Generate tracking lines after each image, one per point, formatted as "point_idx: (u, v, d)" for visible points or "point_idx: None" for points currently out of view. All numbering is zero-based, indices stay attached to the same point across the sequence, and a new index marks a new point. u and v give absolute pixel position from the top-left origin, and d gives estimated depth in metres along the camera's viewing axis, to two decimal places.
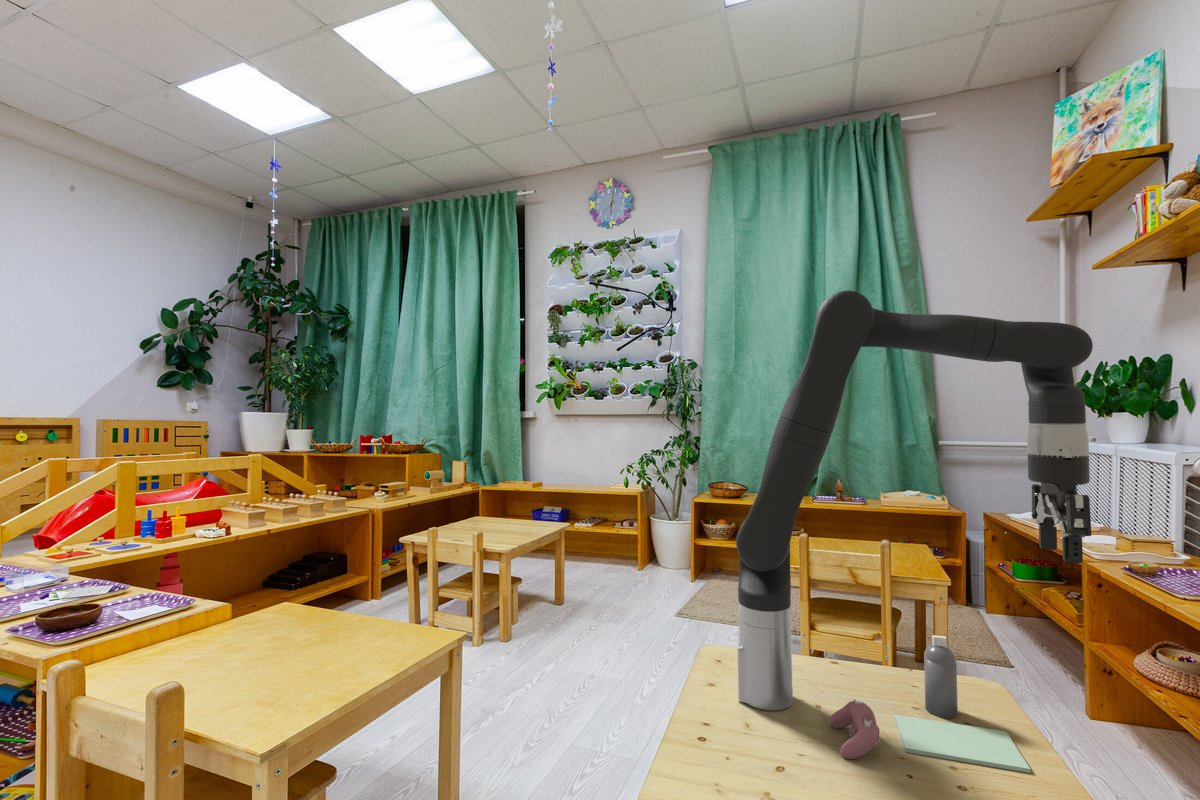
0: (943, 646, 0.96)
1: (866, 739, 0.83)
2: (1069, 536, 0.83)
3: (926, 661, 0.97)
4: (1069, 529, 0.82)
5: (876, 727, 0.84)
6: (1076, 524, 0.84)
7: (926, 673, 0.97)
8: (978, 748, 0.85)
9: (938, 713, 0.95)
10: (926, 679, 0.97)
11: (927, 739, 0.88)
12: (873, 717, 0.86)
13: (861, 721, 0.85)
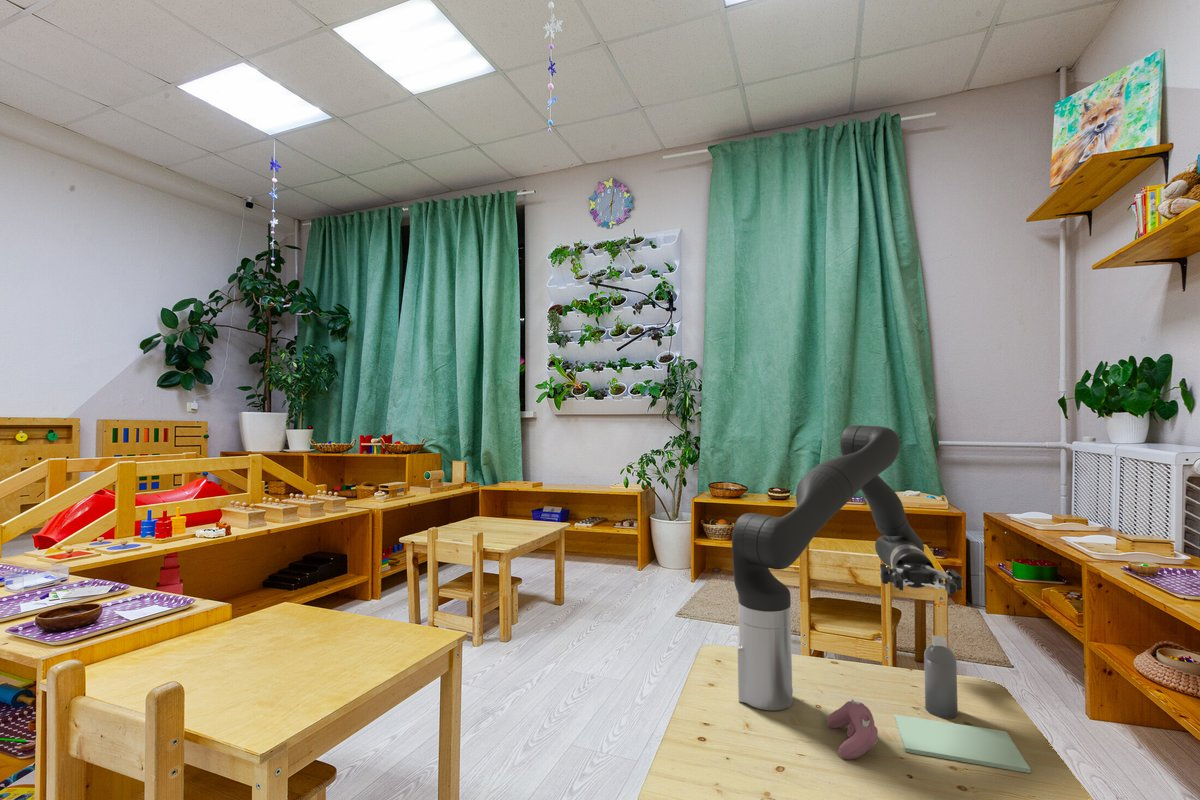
0: (943, 646, 0.96)
1: (864, 739, 0.83)
2: (952, 580, 1.09)
3: (926, 661, 0.97)
4: (959, 576, 1.10)
5: (874, 727, 0.84)
6: (942, 584, 1.11)
7: (926, 673, 0.97)
8: (978, 748, 0.85)
9: (938, 713, 0.95)
10: (926, 679, 0.97)
11: (927, 739, 0.88)
12: (871, 717, 0.86)
13: (859, 721, 0.85)
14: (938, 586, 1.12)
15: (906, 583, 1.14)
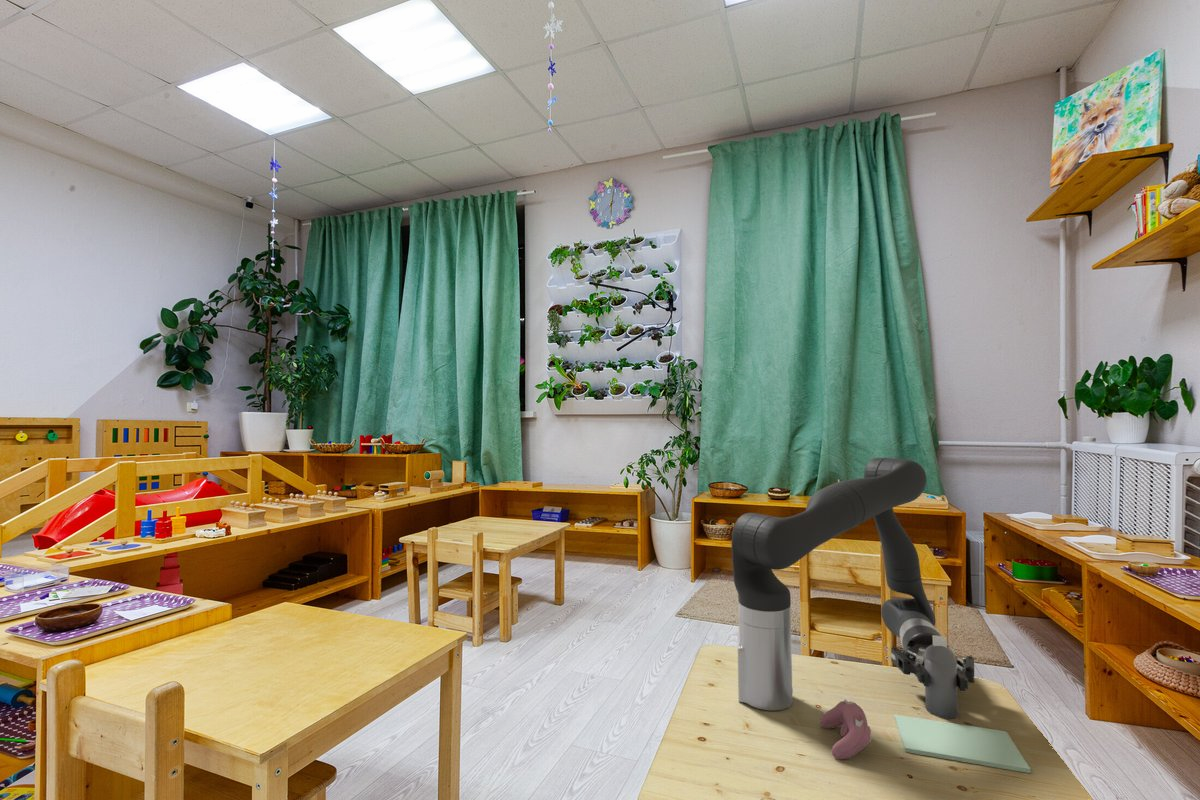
0: (943, 646, 0.96)
1: (857, 739, 0.83)
2: (963, 671, 0.97)
3: (926, 661, 0.97)
4: (971, 666, 0.98)
5: (867, 727, 0.84)
6: None
7: None
8: (978, 748, 0.85)
9: (938, 713, 0.95)
10: None
11: (927, 739, 0.88)
12: (864, 716, 0.86)
13: (852, 721, 0.85)
14: None
15: None
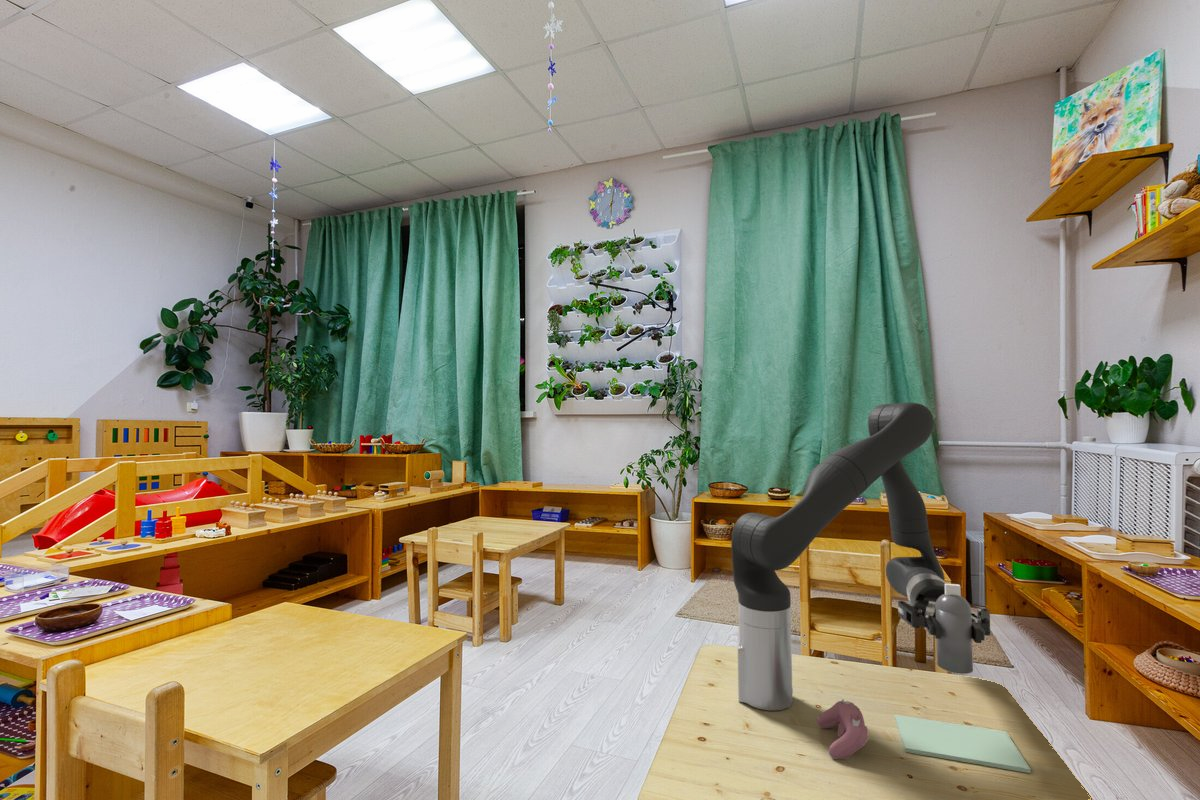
0: (957, 595, 0.87)
1: (854, 739, 0.83)
2: (978, 623, 0.88)
3: (938, 611, 0.88)
4: (987, 618, 0.89)
5: (864, 727, 0.84)
6: None
7: None
8: (978, 748, 0.85)
9: (951, 668, 0.86)
10: None
11: (927, 739, 0.88)
12: (861, 716, 0.86)
13: (849, 721, 0.85)
14: None
15: None
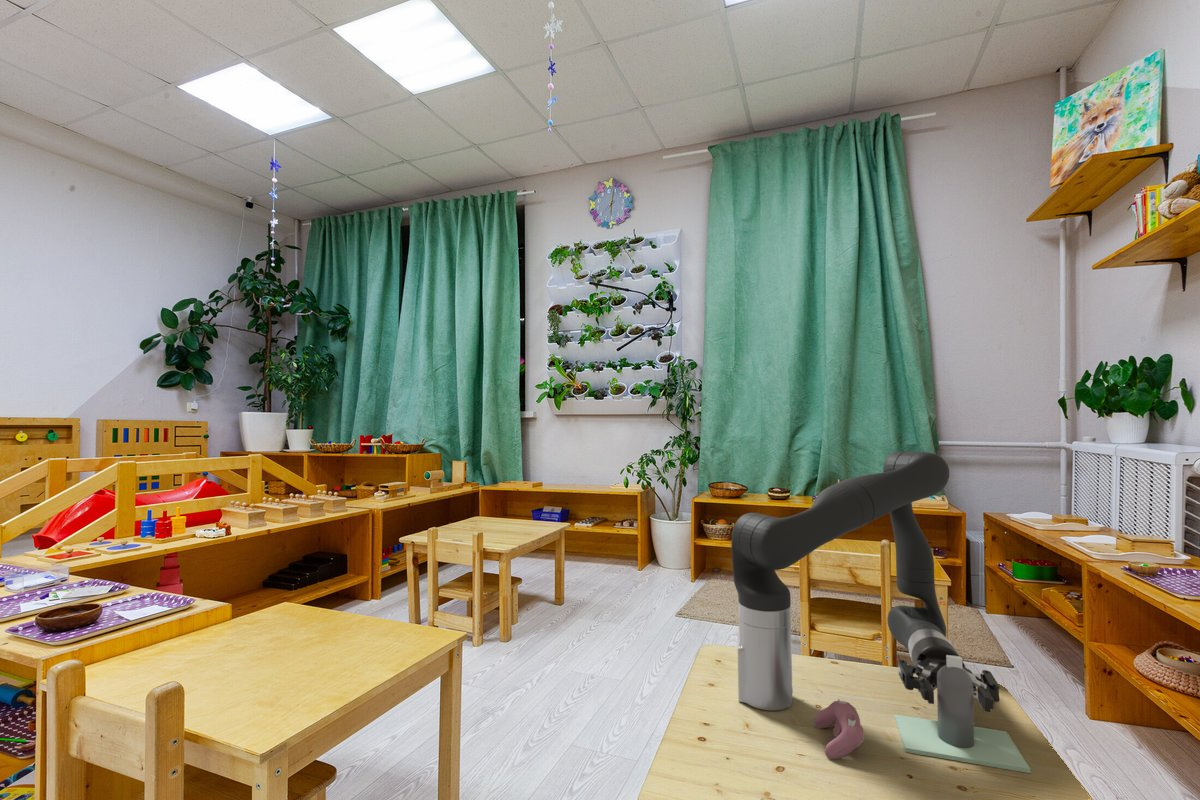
0: (958, 667, 0.87)
1: (850, 739, 0.83)
2: (987, 689, 0.88)
3: (939, 684, 0.88)
4: (995, 684, 0.88)
5: (860, 727, 0.84)
6: (975, 692, 0.90)
7: (939, 697, 0.88)
8: (978, 748, 0.85)
9: (953, 742, 0.86)
10: (939, 703, 0.88)
11: (927, 739, 0.88)
12: (857, 716, 0.86)
13: (845, 721, 0.85)
14: None
15: (933, 688, 0.92)
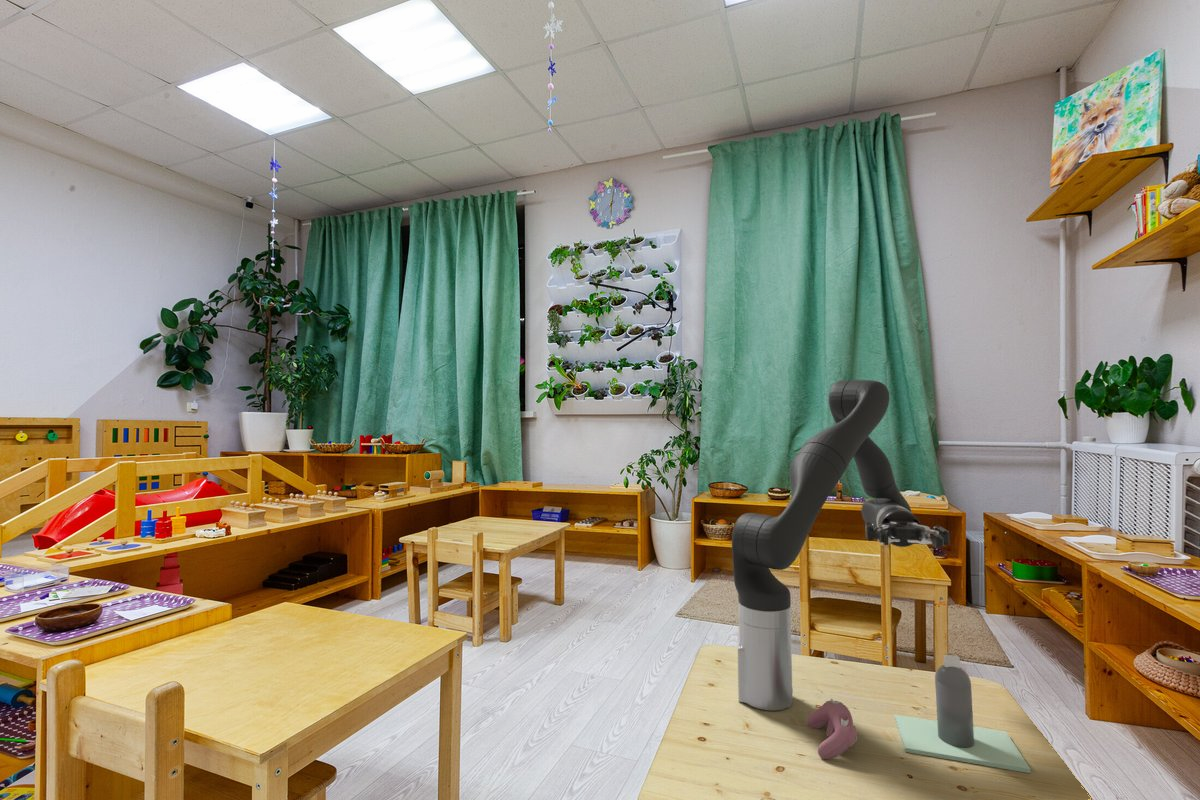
0: (956, 667, 0.87)
1: (843, 739, 0.83)
2: (939, 534, 1.05)
3: (938, 684, 0.88)
4: (946, 531, 1.06)
5: (853, 726, 0.84)
6: (929, 540, 1.07)
7: (938, 698, 0.88)
8: (978, 748, 0.85)
9: (953, 742, 0.86)
10: (938, 704, 0.88)
11: (927, 739, 0.88)
12: (850, 716, 0.86)
13: (838, 721, 0.85)
14: (925, 542, 1.07)
15: (892, 540, 1.10)
